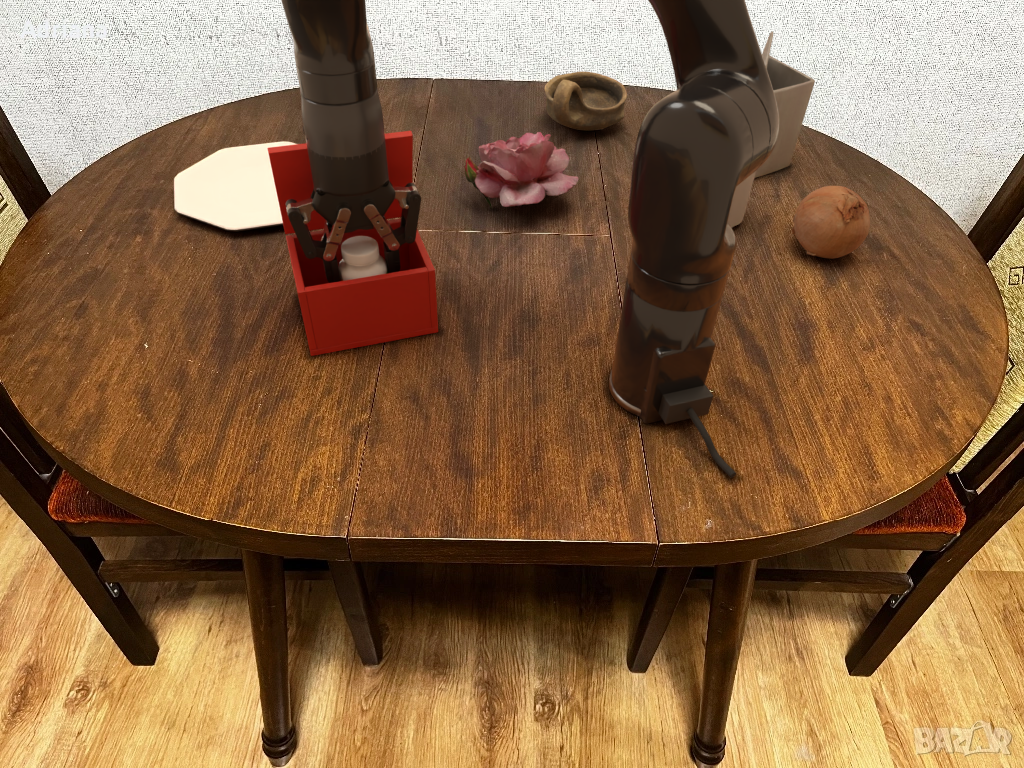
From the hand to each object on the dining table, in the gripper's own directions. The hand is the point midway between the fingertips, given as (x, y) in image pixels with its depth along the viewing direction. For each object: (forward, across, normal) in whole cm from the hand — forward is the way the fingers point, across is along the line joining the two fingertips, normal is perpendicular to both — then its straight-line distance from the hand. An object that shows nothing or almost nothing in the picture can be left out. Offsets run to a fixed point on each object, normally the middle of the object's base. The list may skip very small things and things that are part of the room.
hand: (364, 277), depth 85 cm
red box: (+6, 0, +1) cm, 6 cm away
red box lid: (-9, 0, +5) cm, 10 cm away
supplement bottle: (+6, 0, 0) cm, 6 cm away
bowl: (+7, +43, +41) cm, 60 cm away
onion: (+7, +61, -2) cm, 61 cm away
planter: (+7, +67, +22) cm, 71 cm away
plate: (+7, -9, +34) cm, 36 cm away
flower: (+7, +26, +21) cm, 34 cm away
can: (+7, +51, +9) cm, 52 cm away
